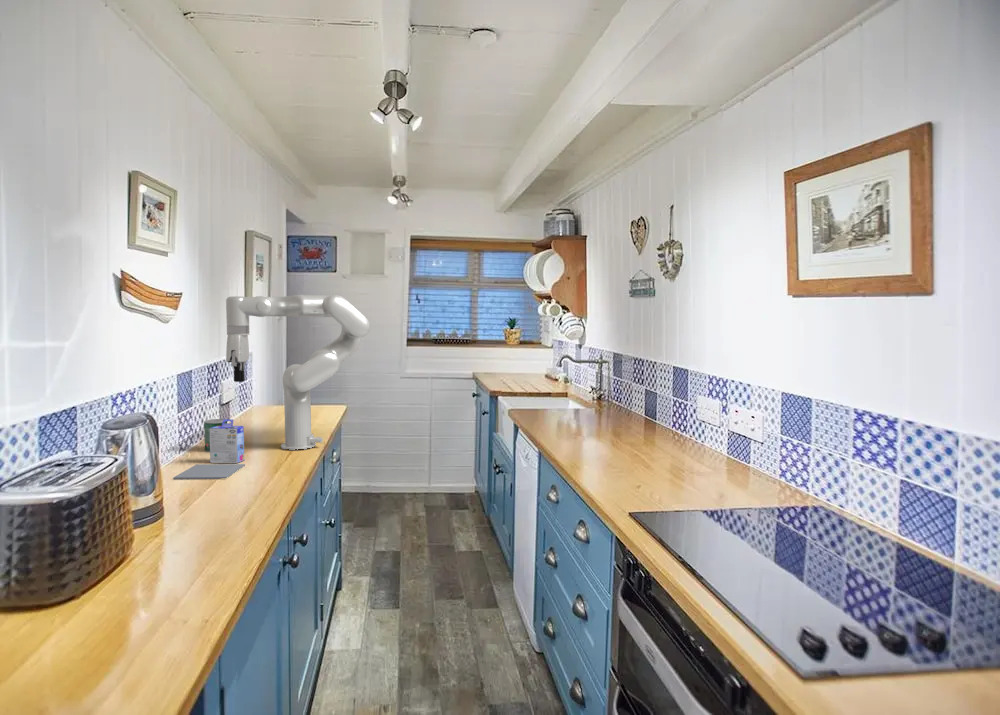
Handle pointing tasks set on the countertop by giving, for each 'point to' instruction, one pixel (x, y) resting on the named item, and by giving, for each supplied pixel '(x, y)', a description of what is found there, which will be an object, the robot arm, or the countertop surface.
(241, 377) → the robot arm
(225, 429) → the ink cartridge box
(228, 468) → the mat
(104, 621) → the countertop surface
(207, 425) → the canned tomato
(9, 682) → the countertop surface
